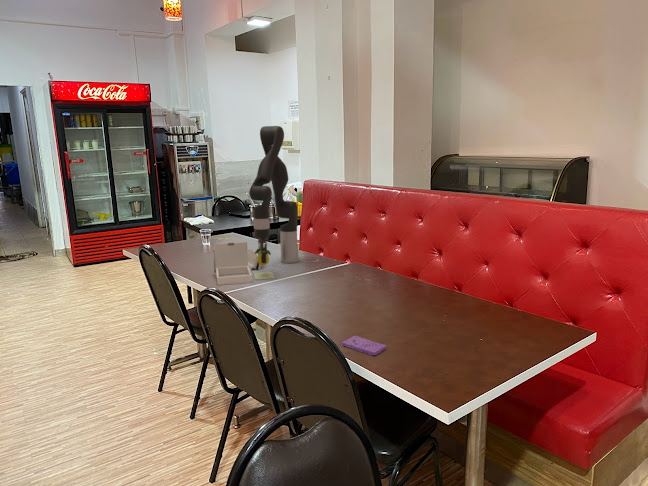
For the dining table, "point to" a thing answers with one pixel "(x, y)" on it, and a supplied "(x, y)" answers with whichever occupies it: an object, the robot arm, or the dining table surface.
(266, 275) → the mat
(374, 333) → the dining table surface
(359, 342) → the sponges
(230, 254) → the case
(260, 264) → the lemon
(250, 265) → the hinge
